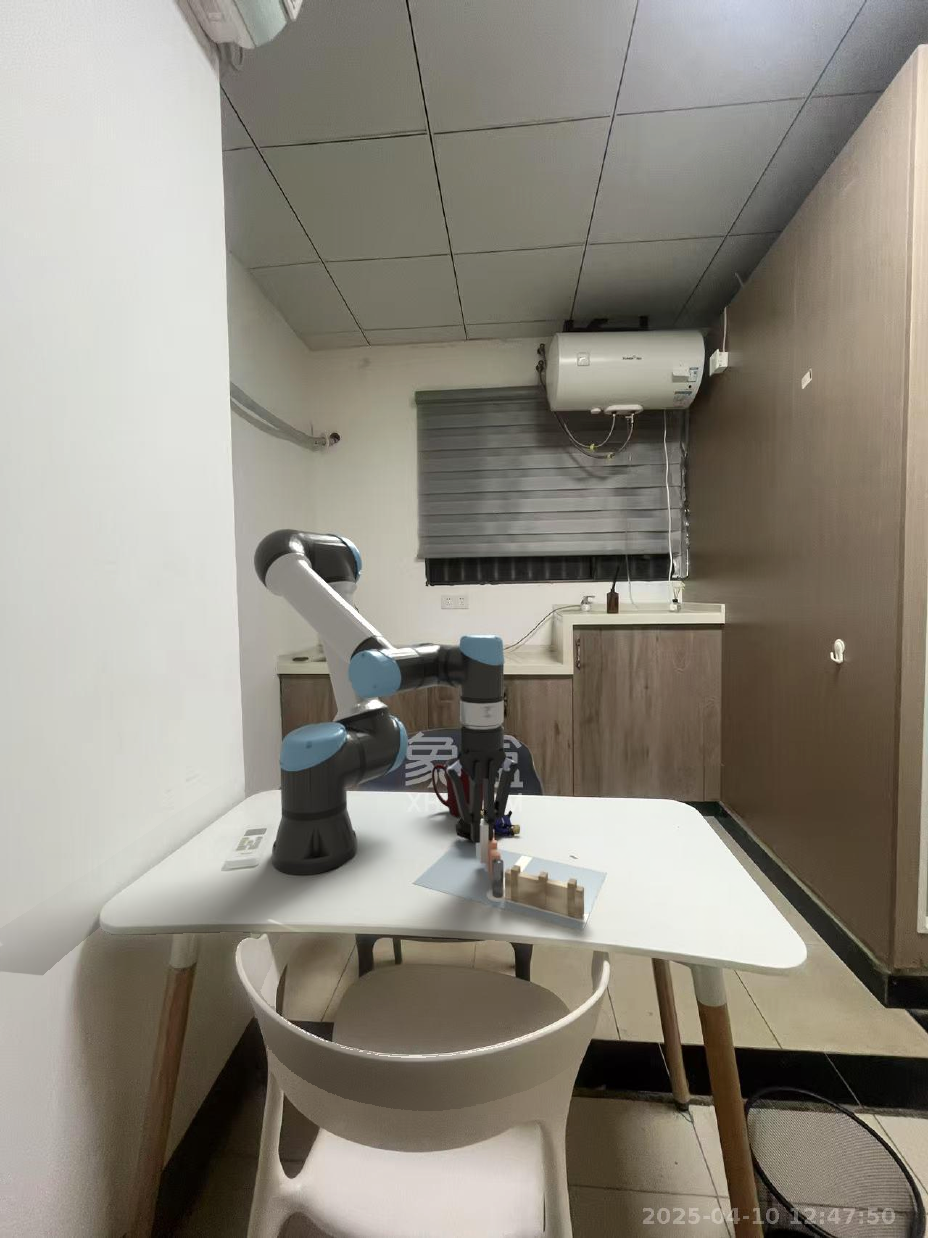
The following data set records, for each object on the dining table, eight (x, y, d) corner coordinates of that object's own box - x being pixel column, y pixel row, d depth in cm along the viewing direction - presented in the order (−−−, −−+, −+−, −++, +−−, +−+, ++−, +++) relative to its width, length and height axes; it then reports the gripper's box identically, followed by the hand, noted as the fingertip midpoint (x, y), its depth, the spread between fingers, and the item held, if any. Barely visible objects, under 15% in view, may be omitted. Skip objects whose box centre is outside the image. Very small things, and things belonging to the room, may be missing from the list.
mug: (428, 818, 109) (427, 767, 109) (436, 802, 118) (435, 755, 118) (483, 820, 107) (483, 769, 107) (487, 804, 116) (486, 757, 116)
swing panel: (501, 888, 80) (501, 858, 80) (492, 889, 80) (492, 859, 80) (493, 852, 92) (492, 826, 92) (485, 852, 92) (484, 826, 92)
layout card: (412, 885, 83) (412, 883, 83) (459, 841, 98) (459, 840, 98) (582, 933, 70) (582, 930, 70) (606, 874, 85) (606, 872, 85)
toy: (531, 824, 101) (479, 823, 92) (517, 852, 102) (464, 854, 92) (503, 797, 108) (452, 793, 99) (490, 823, 109) (438, 822, 99)
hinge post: (490, 898, 79) (490, 863, 78) (495, 892, 80) (494, 857, 80) (501, 901, 78) (500, 865, 78) (505, 895, 79) (505, 860, 79)
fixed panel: (504, 898, 78) (504, 867, 78) (508, 893, 79) (507, 863, 79) (581, 919, 72) (581, 886, 72) (584, 913, 74) (584, 881, 73)
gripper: (451, 732, 81) (452, 876, 82) (525, 726, 85) (525, 864, 86) (440, 722, 88) (440, 854, 89) (508, 717, 92) (508, 844, 93)
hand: (482, 859), depth 87 cm, fingers closed
